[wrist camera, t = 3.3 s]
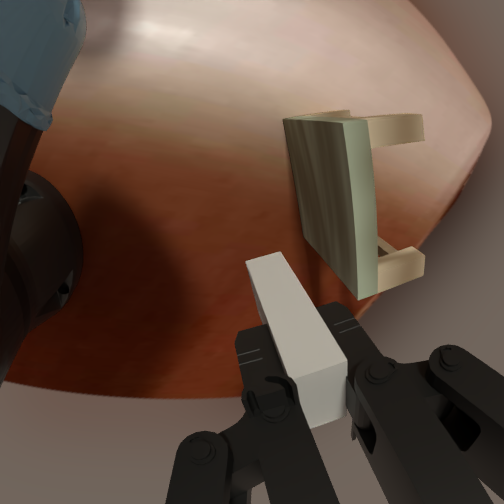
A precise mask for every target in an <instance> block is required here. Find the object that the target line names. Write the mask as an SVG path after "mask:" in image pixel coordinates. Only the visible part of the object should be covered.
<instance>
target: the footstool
mask: <svg viewBox="0 0 504 504" xmlns="http://www.w3.org/2000/svg"><path fill="white" fill-rule="evenodd" d="M283 123H284V128H285V133H286V138H287V144H288V149H289V154H290V159H291V165H292V170H293V176H294V182H295V187H296V193H297V199H298V205H299V211H300V217H301V224H302V230H303V237H304V238H305V239H306V240H307V241H308V242H309V244H310V245H311V246H312V247H313V248H314V249H315V250H316V252H317V253H318V254H319V255H320V256H321V257H322V258H323V260H324V261H325V262H326V263H327V264H328V265H329V267H330V268H331V269H332V270H333V271H334V272H335V274H336V275H337V276H338V277H339V278H340V279H341V281H342V282H343V283H344V284H345V285H346V286H347V288H348V289H349V290H350V291H351V292H352V294H353V295H354V296H355V297H356V298H357V300H360V299H363V298H366V297H369V296H371V295H374V294H377V293H379V292H382V291H385V290H387V289H390V288H392V287H395V286H397V285H400V284H403V283H405V282H408V281H410V280H413V279H416V278H418V277H420V276H423V275H424V263H425V256H424V255H423V254H422V253H421V252H419V251H418V250H416V249H415V248H414V247H412V246H411V247H409V248H406V249H403V250H400V251H397V250H396V249H394V248H393V247H392V246H390V245H389V244H388V243H386V242H385V241H384V240H382V239H381V238H380V237H378V236H377V215H376V198H375V185H374V173H373V163H372V153H371V149H372V148H378V147H384V146H391V145H397V144H404V143H411V142H419V141H425V139H424V128H423V118H422V114H411V113H400V114H389V115H379V116H369V117H353V116H350V110H337V111H329V112H322V113H316V114H309V115H303V116H297V117H291V118H285V119H283ZM378 255H379V256H381V257H379V258H378Z"/></svg>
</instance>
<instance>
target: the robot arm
mask: <svg viewBox="0 0 504 504" xmlns="http://www.w3.org/2000/svg"><path fill="white" fill-rule="evenodd" d="M85 35H86V16H85V12H84V8H83V5H82V3H81V1H80V0H0V387H1V384H2V382H3V380H4V378H5V376H6V374H7V372H8V370H9V368H10V366H11V364H12V362H13V360H14V358H15V356H16V354H17V352H18V350H19V348H20V346H21V344H22V342H23V340H24V338H25V337H26V335H27V333H29V332H30V331H31V330H33V329H34V328H36V327H37V326H39V325H40V324H42V323H43V322H44V321H46V320H47V319H49V318H50V317H52V316H53V315H55V314H56V313H57V312H59V311H60V310H61V309H62V308H63V306H64V305H65V304H66V303H67V301H68V300H69V298H70V296H71V295H72V293H73V291H74V289H75V287H76V285H77V283H78V281H79V278H80V275H81V271H82V264H83V248H82V240H81V235H80V231H79V228H78V225H77V222H76V219H75V217H74V215H73V213H72V211H71V209H70V207H69V205H68V204H67V202H66V201H65V199H64V198H63V196H62V195H61V194H60V193H59V191H58V190H57V189H56V188H55V187H54V186H53V185H52V184H51V183H50V182H48V181H47V180H46V179H45V178H43V177H41V176H40V175H38V174H36V173H34V172H32V171H30V170H29V167H30V164H31V161H32V159H33V156H34V153H35V151H36V148H37V145H38V143H39V140H40V138H41V135H42V133H43V131H47V129H48V128H49V127H50V125H51V123H52V121H53V118H52V113H51V111H52V109H53V106H54V104H55V102H56V99H57V97H58V95H59V93H60V90H61V88H62V86H63V84H64V82H65V80H66V78H67V76H68V73H69V71H70V69H71V67H72V66H73V64H74V62H75V60H76V58H77V56H78V54H79V52H80V50H81V48H82V45H83V42H84V39H85ZM246 265H247V269H248V273H249V277H250V281H251V285H252V289H253V293H254V296H255V300H256V304H257V308H258V312H259V315H260V318H261V321H262V324H263V325H260V326H257V327H253V328H250V329H246V330H242V331H239V332H238V334H237V337H236V340H235V348H236V352H237V356H238V362H239V365H240V371H241V375H242V380H243V384H244V389H243V391H242V399H241V400H242V403H243V405H244V408H245V410H246V412H245V413H244V415H243V417H242V418H241V419H240V420H239V421H238V423H236V424H234V425H233V426H231V427H230V428H228V429H226V430H224V431H222V432H220V433H219V434H216V433H215V432H209V431H201V432H196V433H193V434H191V435H189V436H187V437H186V438H185V439H184V440H183V441H182V442H181V443H180V445H179V447H178V450H177V452H176V457H175V461H174V466H173V470H172V475H171V480H170V484H169V489H168V493H167V498H166V503H165V504H251V490H252V488H253V487H255V486H256V485H258V484H260V483H262V482H264V481H265V485H266V489H267V493H268V496H269V500H270V504H340V503H339V501H338V498H337V496H336V493H335V491H334V488H333V486H332V483H331V481H330V478H329V476H328V473H327V471H326V468H325V466H324V463H323V461H322V459H321V456H320V453H319V450H318V448H317V445H316V443H315V440H314V438H313V435H312V433H311V430H310V428H314V427H316V426H319V425H323V424H325V423H328V422H331V421H334V420H336V419H339V418H342V417H344V416H346V415H347V409H348V411H349V413H350V415H351V417H352V431H351V437H352V440H355V439H356V436H357V438H358V440H359V443H360V445H361V447H362V449H363V451H364V453H365V455H366V457H367V459H368V461H369V463H370V465H371V467H372V469H373V471H374V474H375V475H376V478H377V480H378V482H379V484H380V486H381V488H382V490H383V492H384V494H385V496H386V499H387V501H388V503H389V504H493V502H492V500H491V499H490V497H489V496H488V494H487V492H486V490H485V489H484V487H483V486H482V484H481V482H480V481H479V479H480V480H481V481H482V482H483V483H484V484H486V485H487V486H488V487H489V488H490V489H491V490H492V491H493V492H495V493H496V494H497V495H498V496H499V497H500V498H501V499H503V500H504V377H503V376H502V375H500V374H499V373H498V372H497V371H495V370H493V369H492V368H490V367H489V366H488V365H486V364H485V363H484V362H482V361H481V360H479V359H478V358H476V357H475V356H473V355H472V354H470V353H469V352H468V351H466V350H465V349H463V348H460V347H459V346H456V345H443V346H440V347H439V348H437V349H435V350H434V351H433V352H432V354H431V355H430V357H429V360H426V361H421V362H415V363H407V364H401V363H397V362H396V361H395V360H394V359H391V358H388V357H384V356H383V355H382V354H381V353H380V352H379V350H378V349H377V347H376V346H375V344H374V343H373V342H372V340H371V339H370V338H369V336H368V335H367V334H366V332H365V331H364V329H363V328H362V327H361V326H360V324H359V323H358V321H357V320H356V319H355V318H354V316H353V315H352V313H351V312H350V311H349V309H348V308H347V307H345V306H343V305H342V304H340V303H338V302H336V301H335V302H332V303H329V304H326V305H323V306H320V307H316V308H315V306H314V305H313V303H312V301H311V300H310V298H309V296H308V295H307V293H306V292H305V290H304V288H303V287H302V285H301V284H300V282H299V280H298V279H297V277H296V276H295V274H294V272H293V271H292V269H291V268H290V266H289V264H288V263H287V261H286V260H285V258H284V257H283V255H282V253H281V252H277V253H273V254H269V255H266V256H262V257H259V258H255V259H251V260H248V261H246ZM477 477H478V478H479V479H478V478H477Z"/></svg>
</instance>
